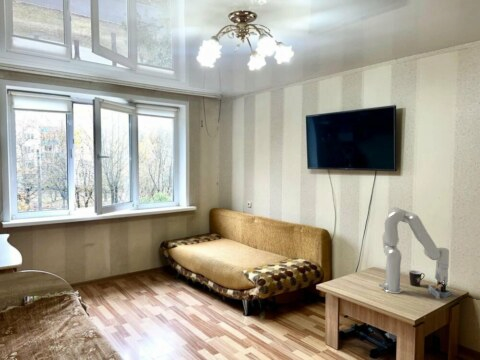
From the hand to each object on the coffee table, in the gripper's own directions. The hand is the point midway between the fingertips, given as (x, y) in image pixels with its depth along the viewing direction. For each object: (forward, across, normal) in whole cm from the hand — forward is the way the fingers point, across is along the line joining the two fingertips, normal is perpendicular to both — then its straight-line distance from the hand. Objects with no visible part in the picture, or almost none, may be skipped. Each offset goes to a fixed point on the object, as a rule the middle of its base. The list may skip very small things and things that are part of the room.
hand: (441, 290), depth 244 cm
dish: (+3, 0, 0) cm, 3 cm away
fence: (+3, +2, -6) cm, 7 cm away
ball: (-2, 0, 0) cm, 2 cm away
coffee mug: (+3, -16, -10) cm, 19 cm away
